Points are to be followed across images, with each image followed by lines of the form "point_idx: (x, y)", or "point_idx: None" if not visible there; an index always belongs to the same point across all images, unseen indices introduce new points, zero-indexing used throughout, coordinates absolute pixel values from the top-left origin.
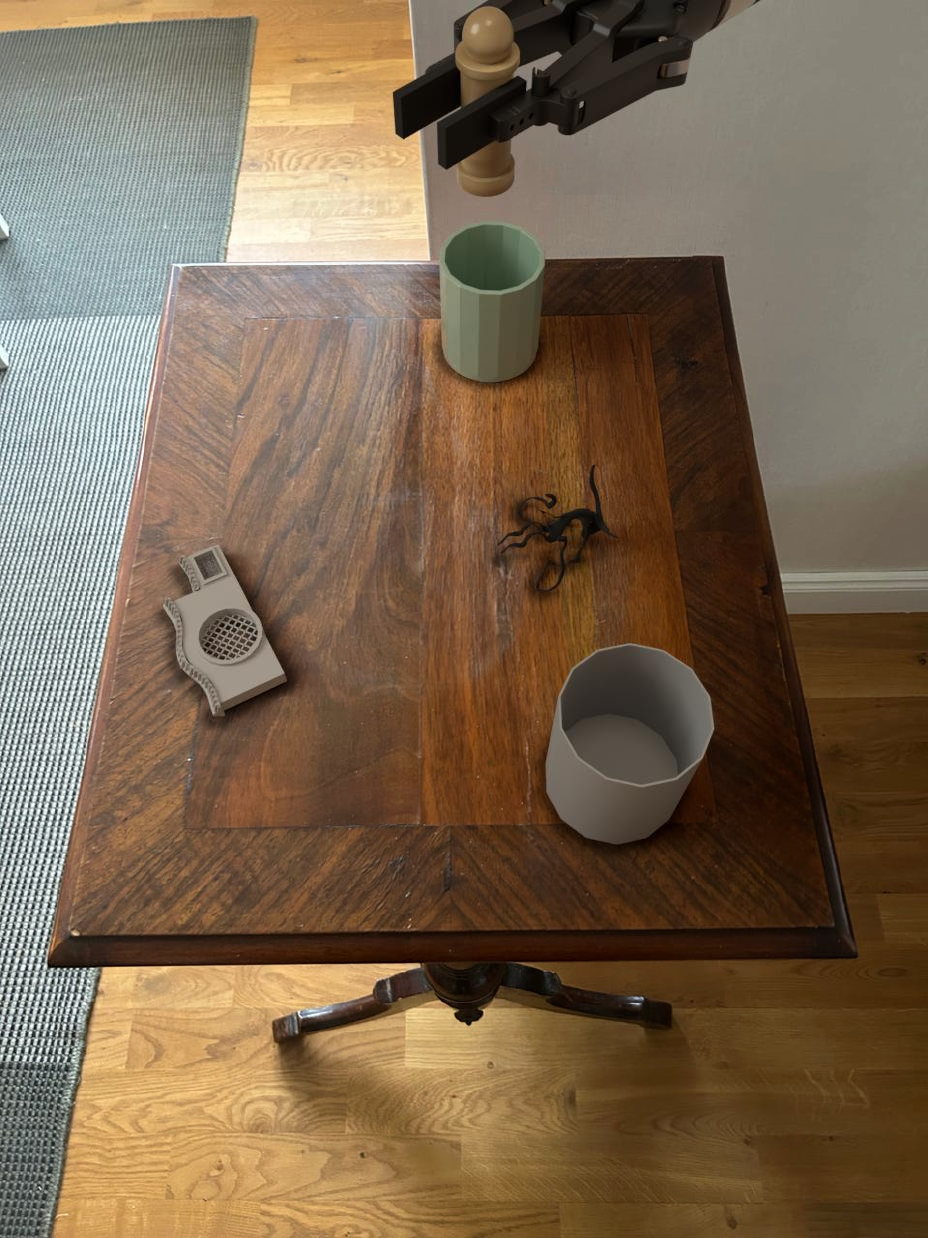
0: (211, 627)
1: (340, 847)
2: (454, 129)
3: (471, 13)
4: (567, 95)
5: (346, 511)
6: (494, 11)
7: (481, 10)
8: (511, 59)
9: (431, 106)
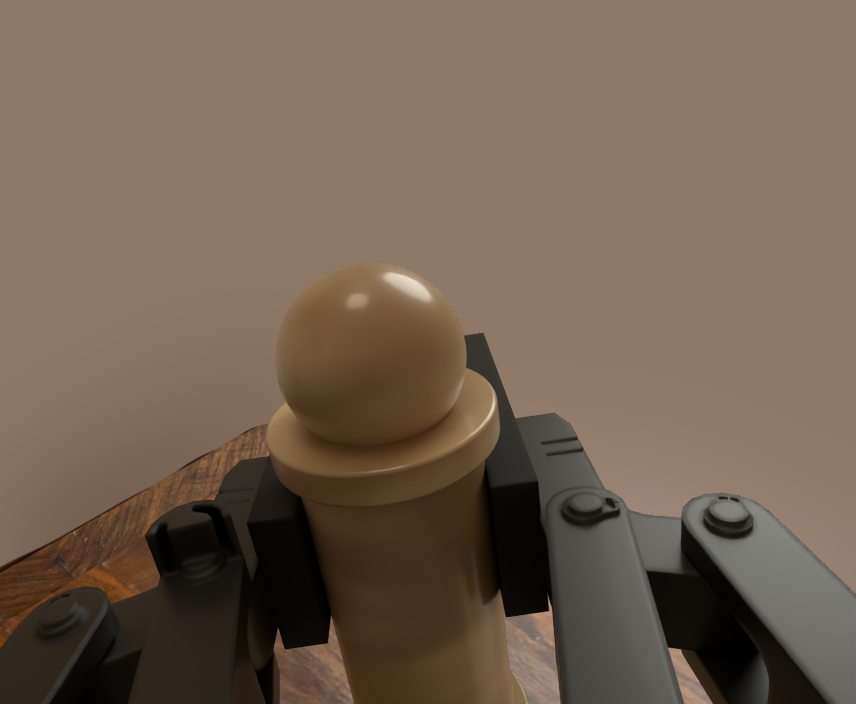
0: None
1: (151, 521)
2: None
3: (808, 570)
4: (64, 592)
5: None
6: (335, 274)
7: (377, 263)
8: (285, 434)
9: None
